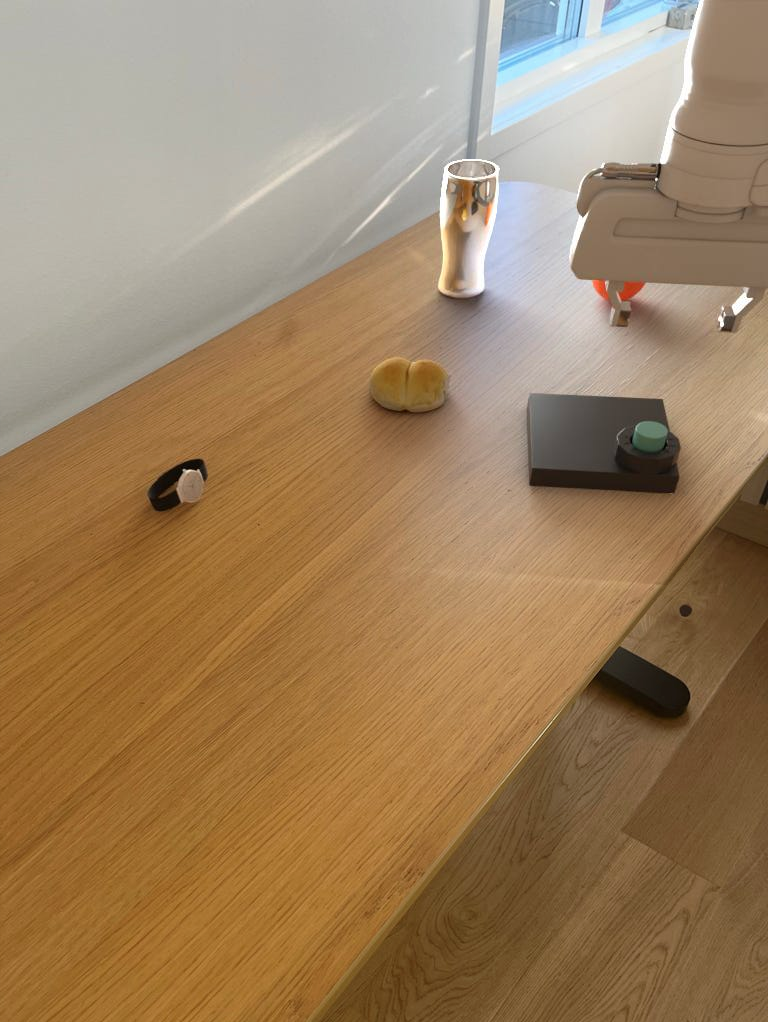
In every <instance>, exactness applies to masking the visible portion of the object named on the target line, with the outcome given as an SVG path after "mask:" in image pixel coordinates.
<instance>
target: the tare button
mask: <svg viewBox="0 0 768 1022" xmlns="http://www.w3.org/2000/svg"><path fill="white" fill-rule="evenodd" d="M667 434H668V430H667V428H666V427H665V426H664V425H662V424H660V423H657V422H652V421H646V422H641V423H639V424H638V425H637V426H636V429H635V433H634V436H633V440H632V444H633V446H634V447H635V448H636V449H639V450H642V451H645V452H659V451H661V450H662V449H663V448H664V445H665V441H666V438H667Z"/></svg>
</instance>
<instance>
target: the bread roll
mask: <svg viewBox="0 0 768 1022" xmlns="http://www.w3.org/2000/svg"><path fill="white" fill-rule="evenodd" d="M450 381H451V375H450V374H449V373H448V371H447V370H446V369H445V368H444V367H443V366H442V365H440V364H439V363H438V362H436V361H433V360H432V359H428V358H423V359H418V360H415V361H410V360H408V359H407V358H404V357H399V356H394V357H389V358H387V359H385V360H383V361H382V362H380V363H379V364H377V366H375V368H373V370H372V372H371V374H370V376H369V378H368V390H369V394H370V395H371V397H372V398H373V400H374V401H375V402H376V403H377V404H379V405H380V406H381V407H383V408H385V409H387V410H391V411H396V412H402V411H405V410H407V411H408V412H411V413H424V412H429V411H432V410H436V409H437V408H439V407H441V406H442V405H443V404H444V403H445V400H446V399H447V398H448V397H447V396H448V393H449V388H450Z"/></svg>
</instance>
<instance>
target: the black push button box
mask: <svg viewBox="0 0 768 1022" xmlns="http://www.w3.org/2000/svg"><path fill="white" fill-rule="evenodd" d="M646 421H652V422H657V423H660V424H662V425H664V426H665V427H666V428H667V430H668V434H667V438H666V441H665V445H664V448H663V449H662V450H661V451H659V452H645V451H642V450H639V449H636V448H635V447H634V446H633V444H632V440H633V436H634V433H635V429H636V426H637V425H638V424H639V423H641V422H646ZM526 432H527V433H526V437H527V465H528V486H530V487H543V488H559V489H560V488H561V489H576V490H577V489H580V490H593V491H595V490H596V491H614V492H631V493H649V494H663V493H668V494H667V495H670V494H669V493H674V494H675V493H676V489H677V486H678V483H679V480H680V473H679V468H678V463H677V462H678V458H679V455H680V453H681V448H682V447H681V443H680V438H679V437H677V436H676V435H675V434H674V433H673V432H671V430H670V426H669V422H668V416H667V413H666V408H665V403H664V399H663V398H652V397H651V398H650V397H629V396H627V397H626V396H607V395H583V394H581V395H580V394H561V393H560V394H559V393H541V392H540V393H539V392H538V393H537V392H529V393H528V398H527V405H526Z"/></svg>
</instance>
